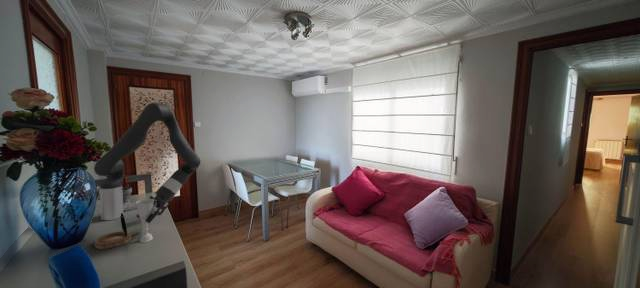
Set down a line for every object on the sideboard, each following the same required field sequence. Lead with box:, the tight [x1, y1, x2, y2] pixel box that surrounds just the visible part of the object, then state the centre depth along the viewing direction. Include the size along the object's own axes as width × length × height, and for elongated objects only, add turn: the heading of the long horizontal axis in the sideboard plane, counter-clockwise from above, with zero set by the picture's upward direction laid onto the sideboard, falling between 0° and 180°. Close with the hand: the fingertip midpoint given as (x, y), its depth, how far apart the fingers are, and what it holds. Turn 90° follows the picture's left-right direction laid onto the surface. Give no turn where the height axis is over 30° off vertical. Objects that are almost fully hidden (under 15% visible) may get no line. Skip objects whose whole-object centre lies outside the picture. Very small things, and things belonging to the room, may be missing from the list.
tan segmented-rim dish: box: [93, 230, 132, 250], centre depth 105 cm, size 12×12×2 cm
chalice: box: [135, 198, 155, 243], centre depth 107 cm, size 7×7×18 cm
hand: (142, 219), depth 106 cm, fingers open, 8 cm apart
